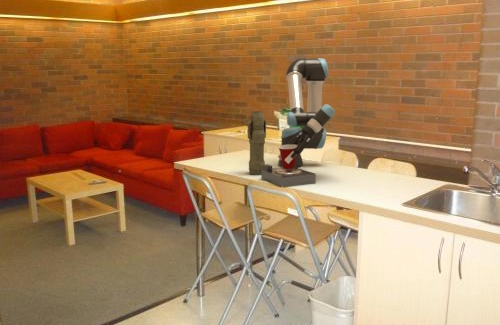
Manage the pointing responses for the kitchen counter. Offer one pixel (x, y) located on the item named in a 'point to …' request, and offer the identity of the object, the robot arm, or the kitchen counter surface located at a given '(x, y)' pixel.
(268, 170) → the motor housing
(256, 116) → the brown tall upright piece
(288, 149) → the plastic cup
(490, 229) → the kitchen counter surface
